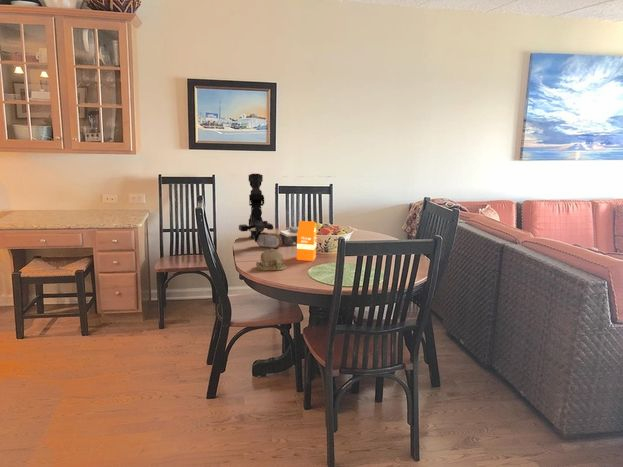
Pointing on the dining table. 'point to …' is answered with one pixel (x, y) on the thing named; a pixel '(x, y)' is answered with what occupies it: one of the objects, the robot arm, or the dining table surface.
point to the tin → (269, 240)
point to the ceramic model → (271, 260)
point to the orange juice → (306, 241)
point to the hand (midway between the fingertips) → (255, 242)
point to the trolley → (289, 236)
